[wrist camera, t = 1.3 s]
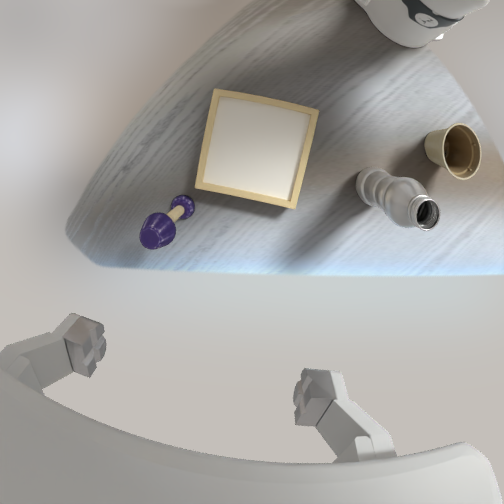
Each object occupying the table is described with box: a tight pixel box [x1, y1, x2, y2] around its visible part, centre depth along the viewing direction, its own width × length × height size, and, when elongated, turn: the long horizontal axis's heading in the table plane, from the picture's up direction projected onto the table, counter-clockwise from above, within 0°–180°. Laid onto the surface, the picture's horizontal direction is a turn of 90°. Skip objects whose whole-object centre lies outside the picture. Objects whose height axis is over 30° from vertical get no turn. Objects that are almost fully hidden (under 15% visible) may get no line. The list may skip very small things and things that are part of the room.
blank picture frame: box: [195, 89, 319, 209], centre depth 42 cm, size 16×16×4 cm
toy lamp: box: [140, 195, 195, 249], centre depth 40 cm, size 5×5×17 cm
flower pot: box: [424, 123, 481, 180], centre depth 36 cm, size 9×9×9 cm
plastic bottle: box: [356, 167, 440, 231], centre depth 35 cm, size 6×7×20 cm
